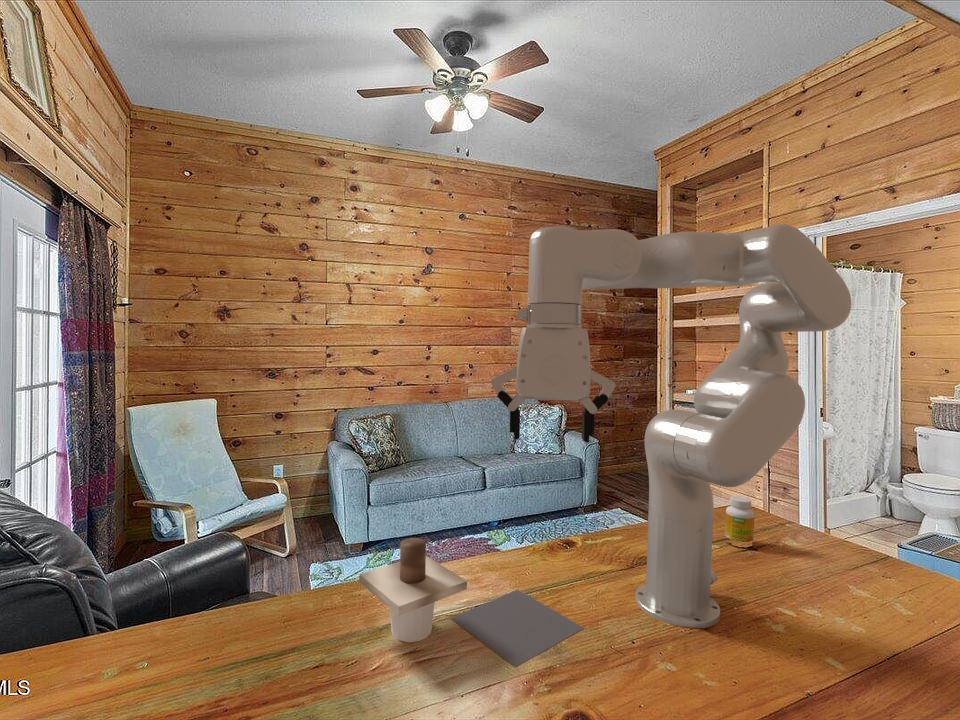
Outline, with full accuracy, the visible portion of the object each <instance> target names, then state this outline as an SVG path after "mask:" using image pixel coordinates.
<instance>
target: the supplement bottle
mask: <svg viewBox="0 0 960 720" xmlns="http://www.w3.org/2000/svg"><path fill="white" fill-rule="evenodd" d="M729 504H730V505H729V506H727V507H726V508H725V509H726V510H725V525H724V526H725V527H724V537H725V536H726V537H727V538H729V539H731V540H735V541H741V542H750V541H753V542H754V534H755V533H754V532H755V531H754V530H755V512H754V511H753V510H752V509H751V507H752V499H750V498H749V497H745V496H739V495H731V496H730V497H729Z"/></svg>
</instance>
